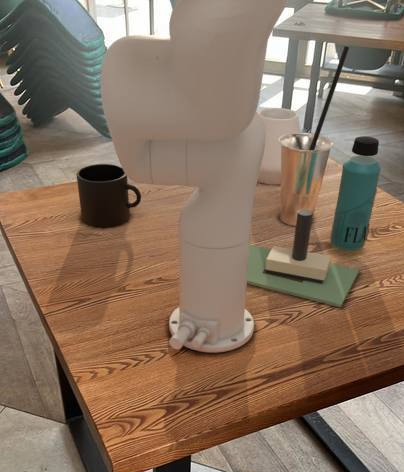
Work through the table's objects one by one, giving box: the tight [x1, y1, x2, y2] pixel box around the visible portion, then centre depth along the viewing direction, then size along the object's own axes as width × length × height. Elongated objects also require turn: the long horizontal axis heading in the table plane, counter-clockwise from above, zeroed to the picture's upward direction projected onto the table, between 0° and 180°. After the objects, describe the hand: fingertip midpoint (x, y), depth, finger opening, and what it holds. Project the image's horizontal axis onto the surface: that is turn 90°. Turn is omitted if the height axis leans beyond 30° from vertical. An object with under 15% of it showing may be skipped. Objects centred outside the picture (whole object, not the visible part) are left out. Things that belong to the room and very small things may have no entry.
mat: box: [247, 244, 360, 308], centre depth 97 cm, size 12×20×1 cm, turn 65°
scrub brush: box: [265, 209, 332, 284], centre depth 93 cm, size 5×10×11 cm, turn 70°
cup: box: [257, 107, 301, 186], centre depth 127 cm, size 13×13×14 cm
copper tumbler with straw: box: [279, 45, 350, 227], centre depth 105 cm, size 11×11×30 cm
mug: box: [76, 163, 142, 228], centre depth 111 cm, size 9×12×9 cm
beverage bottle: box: [329, 135, 382, 252], centre depth 98 cm, size 6×7×20 cm
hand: (223, 41), depth 84 cm, fingers open, 9 cm apart
